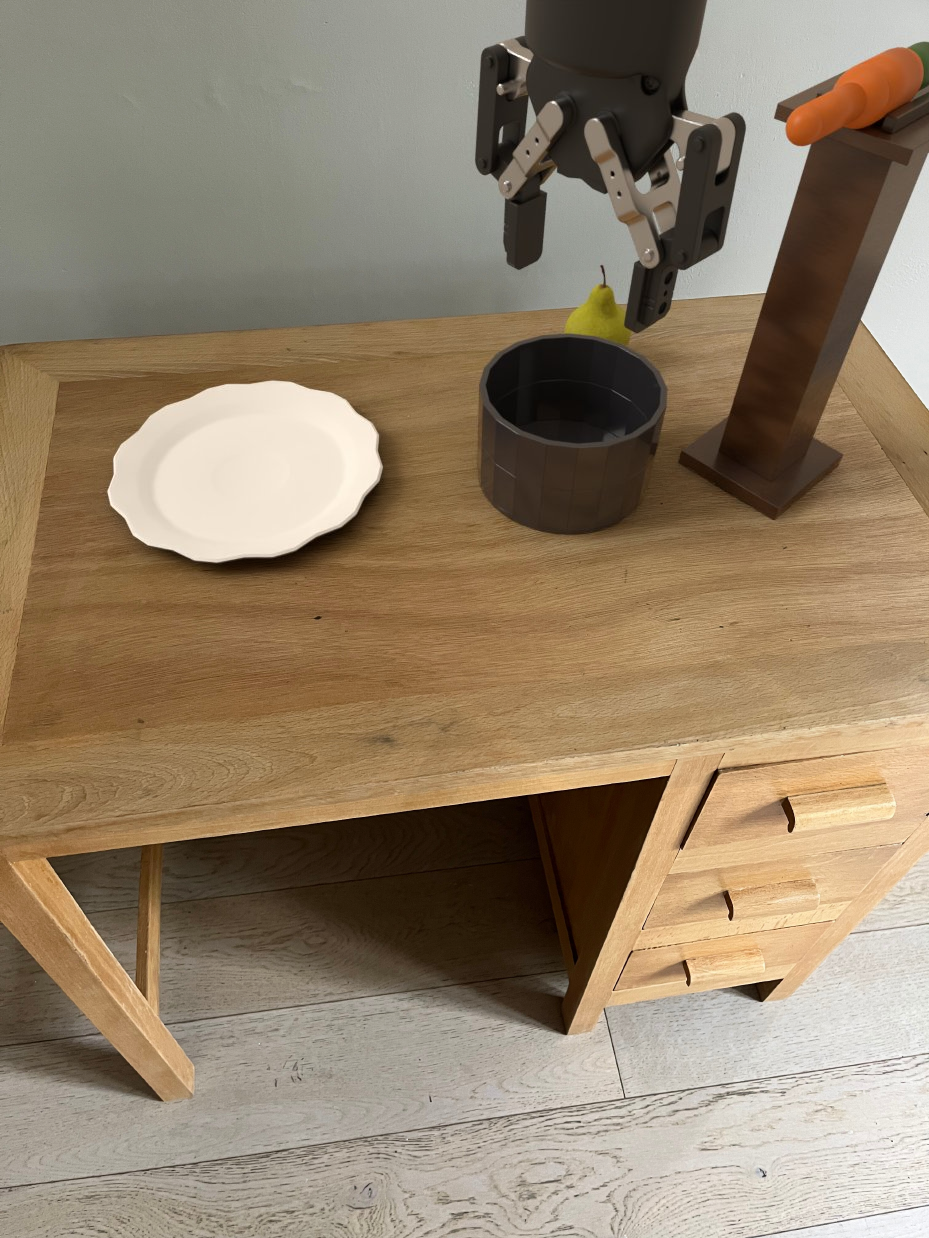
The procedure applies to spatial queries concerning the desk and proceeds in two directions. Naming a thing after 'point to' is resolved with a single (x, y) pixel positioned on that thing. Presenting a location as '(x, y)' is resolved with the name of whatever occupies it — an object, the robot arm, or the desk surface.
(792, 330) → the stand
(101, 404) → the desk surface
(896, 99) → the carrot
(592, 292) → the fruit
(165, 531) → the plate
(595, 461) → the pot
